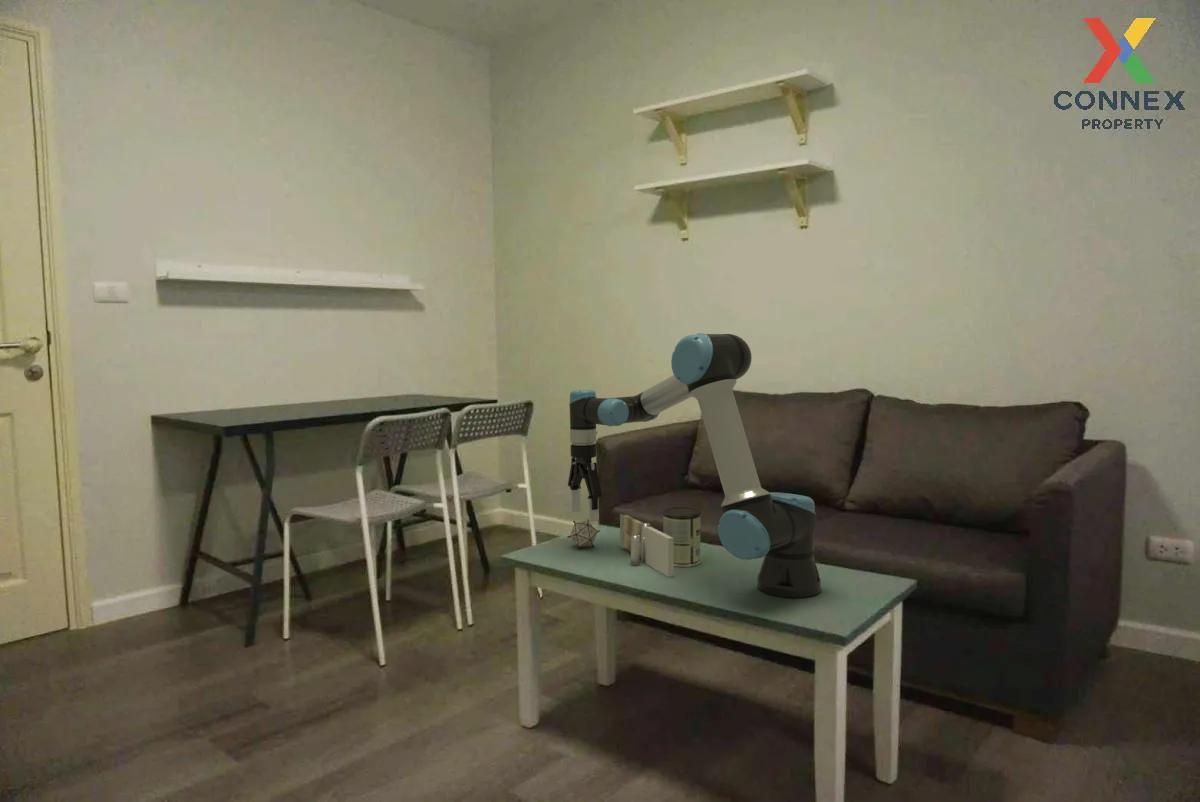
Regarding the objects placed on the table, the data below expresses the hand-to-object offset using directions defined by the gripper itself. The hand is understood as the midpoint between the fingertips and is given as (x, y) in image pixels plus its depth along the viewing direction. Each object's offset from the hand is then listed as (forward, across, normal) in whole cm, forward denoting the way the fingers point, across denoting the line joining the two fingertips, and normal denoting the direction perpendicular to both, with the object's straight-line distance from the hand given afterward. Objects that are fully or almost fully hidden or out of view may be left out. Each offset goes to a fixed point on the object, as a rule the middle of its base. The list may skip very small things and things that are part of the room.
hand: (584, 516), depth 224 cm
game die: (+10, +1, 0) cm, 10 cm away
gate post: (+10, -20, -10) cm, 24 cm away
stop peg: (+10, -21, -6) cm, 24 cm away
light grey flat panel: (+10, -28, -10) cm, 31 cm away
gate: (+9, -12, -10) cm, 17 cm away
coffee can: (+10, -24, -19) cm, 32 cm away
